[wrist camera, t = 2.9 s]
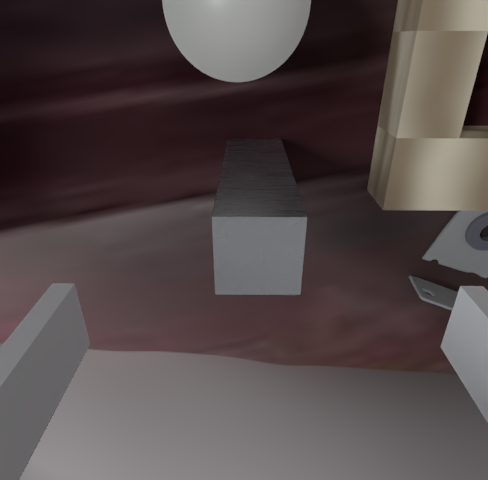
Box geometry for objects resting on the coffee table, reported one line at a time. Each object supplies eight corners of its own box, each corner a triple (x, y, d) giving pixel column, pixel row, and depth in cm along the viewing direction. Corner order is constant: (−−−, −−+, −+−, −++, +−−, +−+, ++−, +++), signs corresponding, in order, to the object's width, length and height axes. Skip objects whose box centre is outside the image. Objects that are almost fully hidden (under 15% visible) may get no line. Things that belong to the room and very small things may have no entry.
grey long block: (228, 189, 30) (215, 294, 18) (227, 138, 28) (211, 216, 16) (278, 189, 30) (300, 294, 18) (281, 138, 28) (307, 217, 16)
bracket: (542, 206, 31) (574, 225, 28) (464, 298, 35) (485, 322, 32) (476, 178, 30) (502, 194, 27) (405, 276, 34) (420, 299, 31)
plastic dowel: (193, 69, 26) (169, 82, 18) (186, -48, 23) (153, -95, 15) (288, 69, 26) (305, 82, 18) (294, -49, 23) (317, -96, 15)
